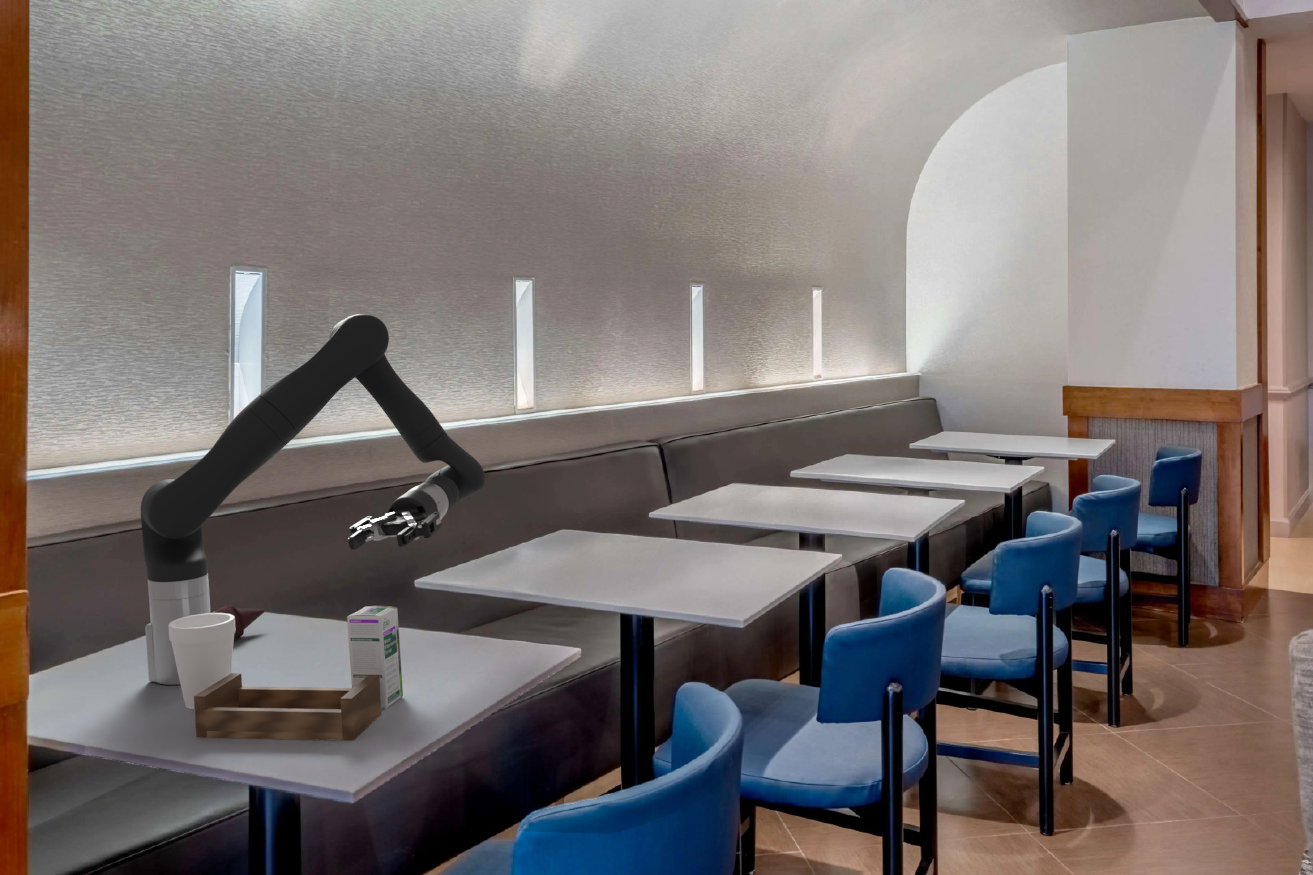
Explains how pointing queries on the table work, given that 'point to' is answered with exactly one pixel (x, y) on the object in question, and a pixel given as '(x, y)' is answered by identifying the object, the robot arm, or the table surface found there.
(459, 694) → the table surface
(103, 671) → the table surface
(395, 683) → the syrup box
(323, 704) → the wooden crate tray
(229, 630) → the foam cup
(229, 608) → the icecream
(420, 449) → the robot arm
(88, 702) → the table surface
